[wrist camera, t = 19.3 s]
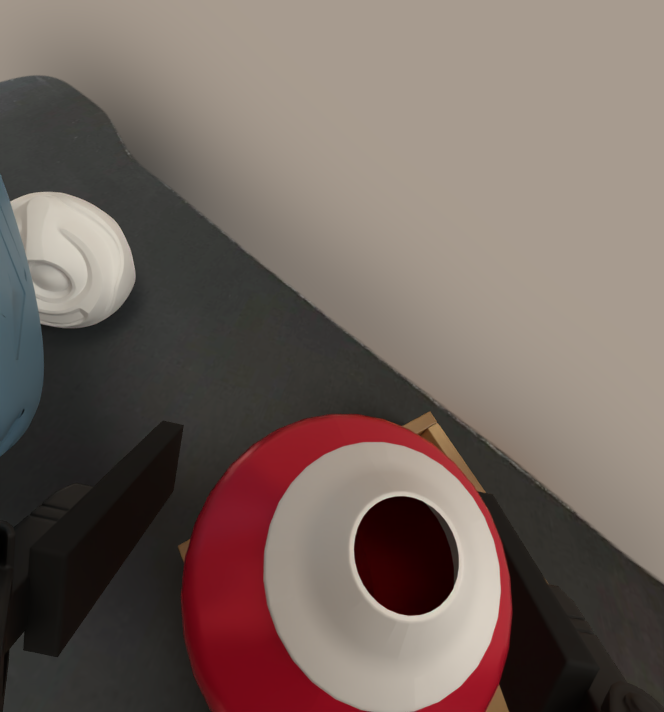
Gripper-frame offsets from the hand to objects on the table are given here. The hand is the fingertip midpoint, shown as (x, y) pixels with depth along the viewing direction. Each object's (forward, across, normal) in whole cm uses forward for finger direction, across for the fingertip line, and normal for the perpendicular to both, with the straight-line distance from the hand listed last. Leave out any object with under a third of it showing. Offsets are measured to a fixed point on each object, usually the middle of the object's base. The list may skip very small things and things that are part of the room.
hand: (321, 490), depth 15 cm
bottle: (+4, 0, -9) cm, 10 cm away
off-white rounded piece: (+15, -18, +1) cm, 23 cm away
